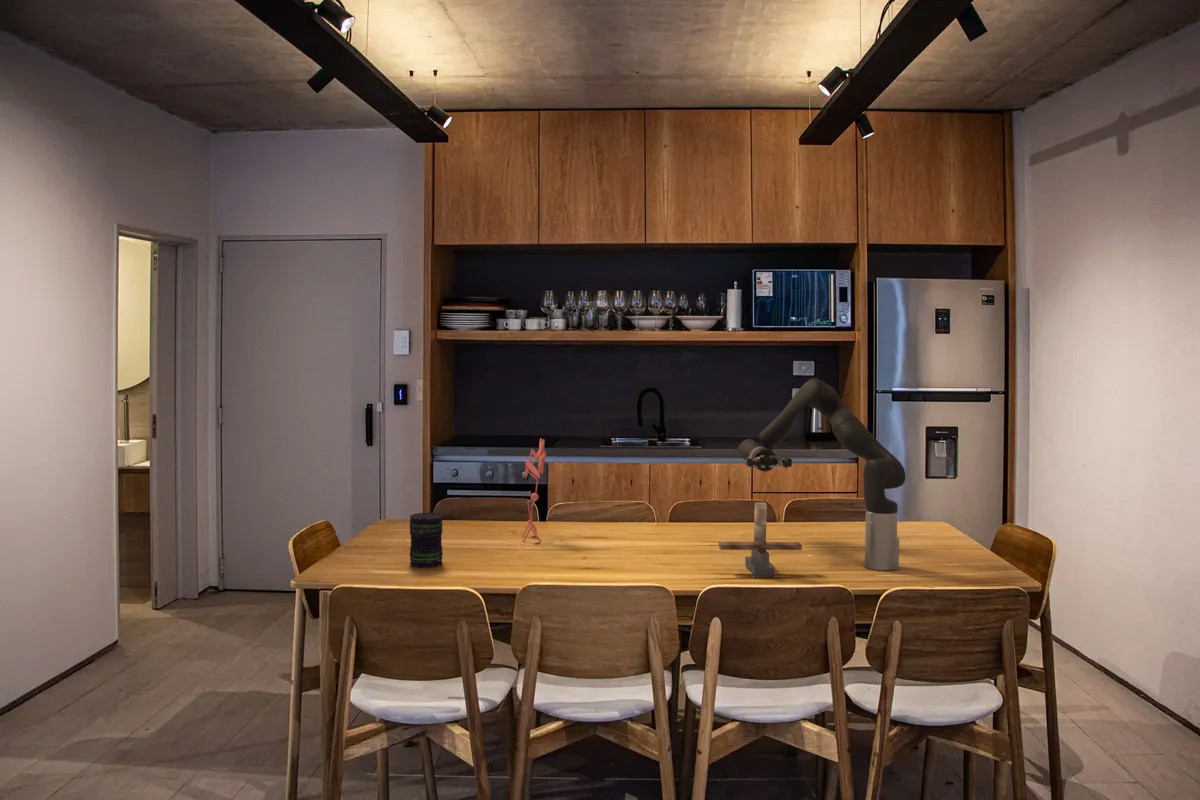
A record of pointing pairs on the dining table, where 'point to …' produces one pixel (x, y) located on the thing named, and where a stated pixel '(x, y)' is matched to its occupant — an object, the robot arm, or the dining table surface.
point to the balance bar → (760, 536)
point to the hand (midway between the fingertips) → (773, 464)
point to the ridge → (760, 564)
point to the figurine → (540, 458)
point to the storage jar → (426, 540)
